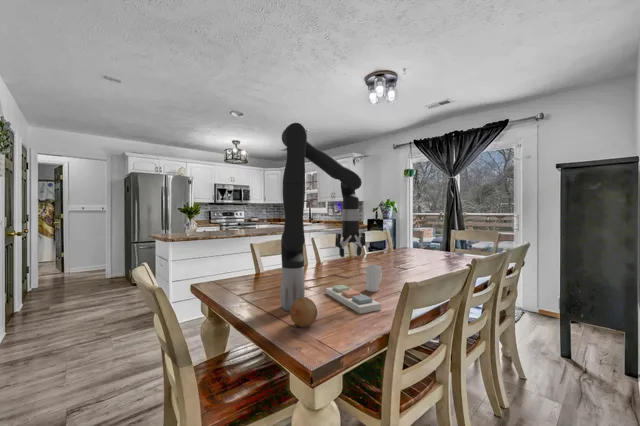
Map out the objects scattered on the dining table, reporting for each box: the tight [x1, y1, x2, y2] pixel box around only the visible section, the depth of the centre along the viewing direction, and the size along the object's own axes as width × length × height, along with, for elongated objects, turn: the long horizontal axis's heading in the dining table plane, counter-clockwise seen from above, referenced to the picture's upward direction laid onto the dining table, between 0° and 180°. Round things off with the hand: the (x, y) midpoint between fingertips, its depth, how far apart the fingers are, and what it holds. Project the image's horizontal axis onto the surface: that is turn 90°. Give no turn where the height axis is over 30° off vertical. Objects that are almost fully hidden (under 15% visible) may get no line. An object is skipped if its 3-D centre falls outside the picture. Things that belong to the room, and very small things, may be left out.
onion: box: [289, 296, 318, 328], centre depth 104 cm, size 10×10×10 cm
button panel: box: [325, 286, 382, 315], centre depth 131 cm, size 10×30×2 cm, turn 25°
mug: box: [365, 264, 383, 293], centre depth 148 cm, size 10×7×12 cm, turn 122°
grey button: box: [352, 294, 373, 305], centre depth 123 cm, size 6×6×2 cm
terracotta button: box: [342, 288, 361, 298], centre depth 131 cm, size 6×6×2 cm
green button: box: [332, 284, 351, 293], centre depth 139 cm, size 6×6×2 cm
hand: (350, 256), depth 131 cm, fingers open, 8 cm apart
